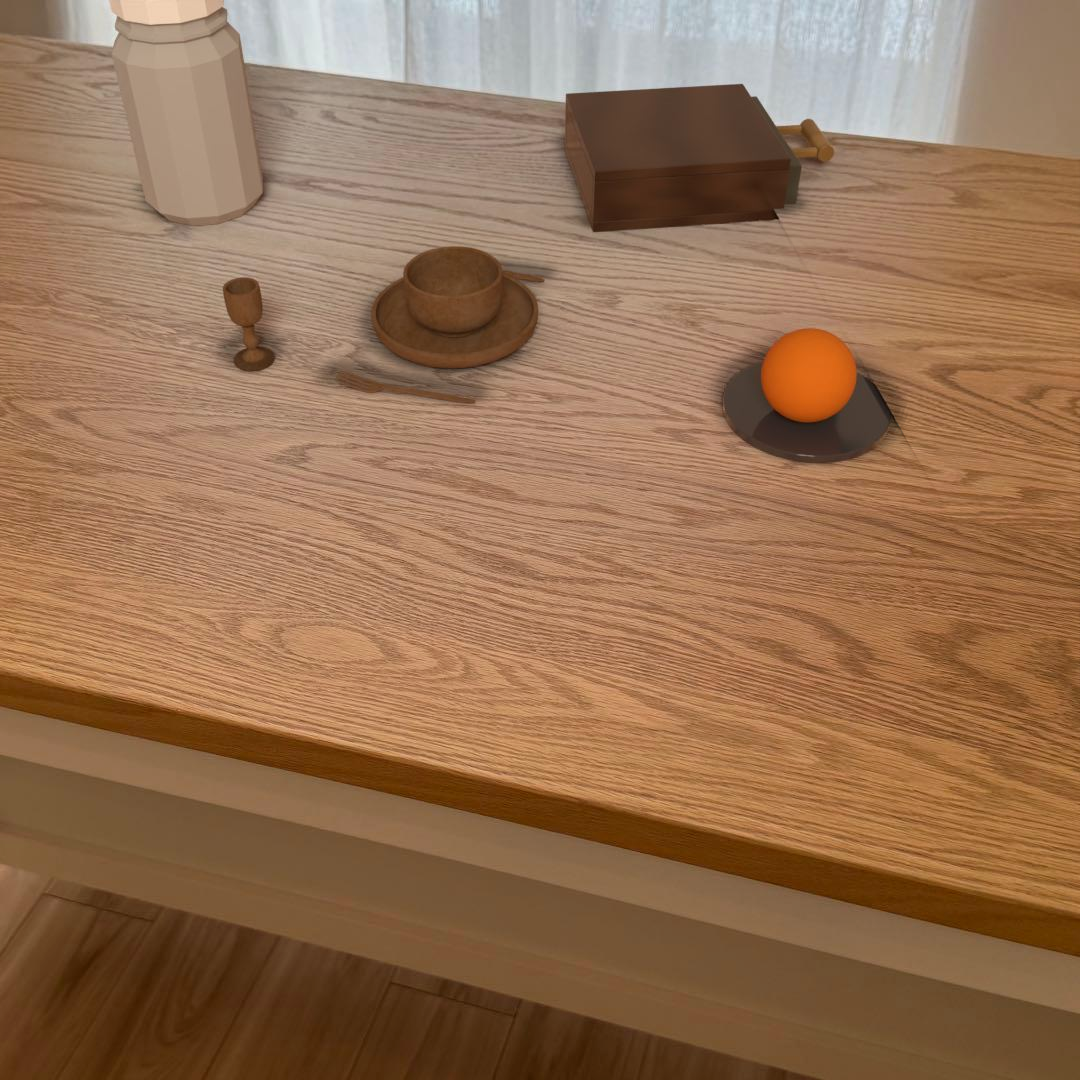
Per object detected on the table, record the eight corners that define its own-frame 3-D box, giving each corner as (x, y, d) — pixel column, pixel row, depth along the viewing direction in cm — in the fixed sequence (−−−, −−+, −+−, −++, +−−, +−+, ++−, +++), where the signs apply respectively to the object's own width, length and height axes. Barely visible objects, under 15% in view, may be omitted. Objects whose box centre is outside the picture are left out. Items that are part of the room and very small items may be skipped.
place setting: (504, 413, 82) (502, 338, 78) (224, 373, 86) (208, 299, 82) (561, 279, 95) (562, 209, 91) (315, 248, 98) (305, 179, 94)
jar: (130, 227, 101) (74, -2, 88) (169, 172, 108) (122, -47, 96) (248, 234, 100) (208, 4, 88) (279, 178, 107) (246, -42, 95)
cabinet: (736, 140, 113) (743, 83, 109) (782, 219, 102) (791, 158, 98) (564, 151, 111) (565, 93, 107) (593, 232, 100) (595, 171, 97)
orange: (837, 357, 84) (846, 300, 78) (862, 430, 81) (873, 375, 75) (749, 375, 84) (752, 319, 78) (771, 448, 81) (776, 395, 76)
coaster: (857, 358, 87) (859, 351, 87) (913, 455, 79) (915, 448, 79) (705, 370, 86) (705, 363, 86) (746, 470, 78) (747, 463, 78)
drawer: (797, 130, 112) (802, 93, 110) (845, 201, 102) (852, 162, 100) (592, 142, 110) (593, 105, 108) (621, 216, 100) (623, 177, 98)
